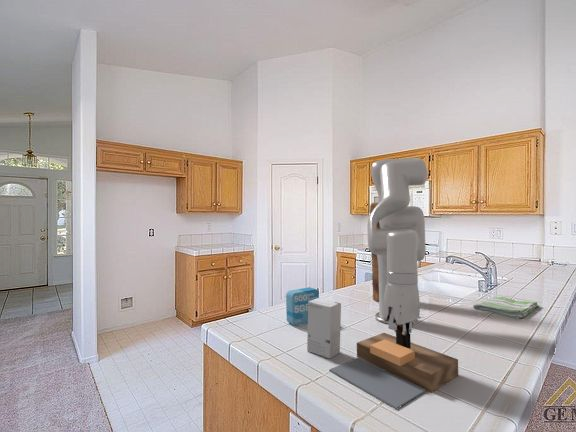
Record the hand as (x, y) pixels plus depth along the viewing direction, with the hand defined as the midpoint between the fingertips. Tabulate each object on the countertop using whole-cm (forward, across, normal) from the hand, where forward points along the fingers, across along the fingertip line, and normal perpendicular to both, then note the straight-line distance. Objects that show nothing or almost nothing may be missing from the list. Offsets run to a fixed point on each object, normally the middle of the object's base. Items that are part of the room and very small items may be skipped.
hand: (403, 347), depth 82 cm
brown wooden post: (+5, -48, -43) cm, 64 cm away
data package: (+5, -1, -43) cm, 43 cm away
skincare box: (+5, +10, -19) cm, 22 cm away
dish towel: (+5, -76, -3) cm, 76 cm away
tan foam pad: (+1, +5, 0) cm, 5 cm away
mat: (+5, +12, 0) cm, 13 cm away
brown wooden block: (+5, 0, 0) cm, 5 cm away
